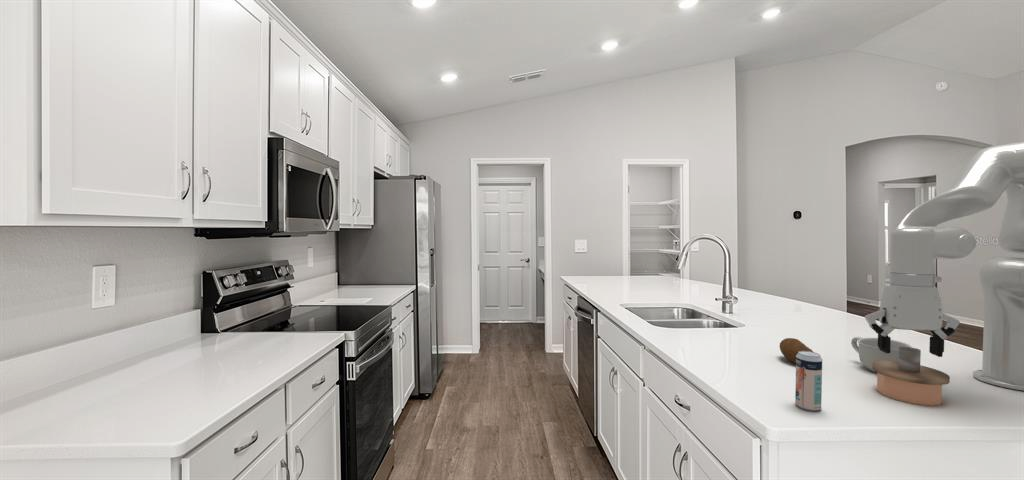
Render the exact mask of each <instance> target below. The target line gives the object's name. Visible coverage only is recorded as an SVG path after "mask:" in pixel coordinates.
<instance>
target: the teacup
mask: <svg viewBox="0 0 1024 480" xmlns="http://www.w3.org/2000/svg"><path fill="white" fill-rule="evenodd" d="M850 343H851V347H852V348H853V349H854V350H855V352H856V353H858V357H859V361H860V363H861V364H862V365H863V366H865V367H866V368H867V369H868V370H869V371H871V372H874V373H876V374H877V372H876V371H874V370H873V369H872V363H873V362H876V361H897V362H899V347H912V346H911V345H910V344H908V343H905V342H903V341H900V340H895V339H891V346H890V353H885V352H883V351H881V350H880V349H879V347H878V337H862V336H854V337H852V339H851V342H850Z"/></svg>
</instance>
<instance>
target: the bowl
mask: <svg viewBox="0 0 1024 480" xmlns="http://www.w3.org/2000/svg"><path fill="white" fill-rule="evenodd" d="M876 375H877V376H876V377H877V378H876V381H877V382H876V391H877V392H879V393H880V394H882V395H883V396H886V397H889V398H892V399H894V400H897V401H900V402H905V403H910V404H914V405H923V406H931V407H932V406H939V405H940V406H941V405H942V401H943V400H942V399H943V385H928V384H919V383H913V382H907V381H902V380H898V379H894V378H891V377H887V376H885V375H882V374H879V373H876Z"/></svg>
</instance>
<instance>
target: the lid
mask: <svg viewBox="0 0 1024 480" xmlns="http://www.w3.org/2000/svg"><path fill="white" fill-rule="evenodd" d="M921 356H922V355H921V349H919V348H915V347H913V346H911V347H899V362H897V361H876V362H873V363H872V369H873V370H874V371H876V372H877V373H879V374H882V375H885V376H887V377H891V378H894V379H898V380H902V381H907V382H913V383H919V384H928V385H942V386H944V385H949V383H950V382H951V377H950V375H949V374H947V373H946V372H943V371H941V370H938V369H936V368H932V367H929V366H925V365H921ZM876 372H875V373H876ZM877 373H876V374H877Z"/></svg>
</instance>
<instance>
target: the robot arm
mask: <svg viewBox="0 0 1024 480" xmlns="http://www.w3.org/2000/svg"><path fill="white" fill-rule="evenodd" d="M1004 192H1005V193H1006V196H1007V197H1006V198H1007V202H1006V206H1005V211H1004V215H1003V219H1002V221H1001V222H1002V223H1001V226H1000V230H999V235H998V243H999V244H998V245H999V246H1000V248H1001V249H1002V250H1003V251H1007V252H1009V253H1014V254H1021V255H1022V254H1024V141H1020V142H1014V143H1013V142H1012V143H1007V144H1006V143H1004V144H998V145H994V146H993V145H992V146H988V147H986V148H982V149H981V150H979V151H977V152H976V153H974V155H973V156H972V157H971V159H970V160H969V161H968V163H967V164H966V165H965V167H964V168H963V169H962V170H961V172H960V174H959V175H958V176H957V178H955V180H954V181H953V183H952V184H951V186H950V187H949V188H948V189H947V190H946V191H944V192H942V193H939V194H937V195H935V196H934V197H931V198H930V199H928V200H926V201H925V202H923V203H921V204H919V205H917V206H916V207H914V208H913V209H912V210H910V211H909V212H908V213H906V215H905V216H904V217H903V219H901V221H900V222H899V223H898V224H897V226H896V228H895V229H893V230H892V231H891V233H890V248H889V249H890V253H889V254H890V255H889V256H890V257H889V284H885V285H884V287H883V290H882V293H881V294H882V295H881V299H880V305H879V310H877V311H873V312H871V313H869V314H866V315H864V320H865V321H866V322H867V324H868V326H869V328H871V329H872V330H873V331H874V332H875V333H876V334H877V338H878V347H879V349H880V350H881V351H883V352H885V353H890V346H891V340H892V339H891V337H890V336H889V335H890V334H891V333H892V332H894V330H903V331H904V330H905V331H906V330H907V331H926V332H929V333H930V334H931V335H930V336H929V349H928V350H929V353H930V354H932V355H933V356H935V357H938V358H942V357H943V353H944V352H945V341H946V340H947V339H948V338H949V336H951V335H952V334H953V333H955V330H956V329H957V327H958V326H959V324H960V320H959V319H957V318H955V317H952V316H950V315H948V314H945V313H943V304H942V299H941V294H940V291H939V289H938V287H936V283H941V282H942V277H941V276H937V275H936V259H938V260H939V259H942V260H957V259H962V258H965V257H967V256H969V255H971V254H972V252H974V250H975V249H976V246H977V240H976V238H975V235H974V234H973V233H972V232H971V231H969V230H968V229H966V228H962V227H958V226H938V225H941V224H943V223H946V222H949V221H952V220H955V219H960V218H963V217H968V216H971V215H975V214H979V213H981V212H982V213H983V212H985V211H987V210H989V209H991V208H992V207H994V206H995V205H996V203H997V202H998V200H999V199H1000V198H1001V197H1002V195H1003V193H1004ZM978 272H979V273H978V276H979V282H980V285H981V290H982V295H983V334H982V335H983V336H982V338H983V339H982V360H981V361H982V363H981V364H982V366H981V369H976V370H973V371H972V377H973V378H975V379H976V380H978V381H981V382H984V383H986V384H990V385H992V386H997V387H1001V388H1004V389H1005V388H1006V389H1010V390H1011V389H1012V390H1017V391H1023V392H1024V257H996V258H992V259H990V260H986V261H985V262H984V263H983V264H981V267H980V269H979V271H978ZM876 320H879V323H880V325H878V324H877V321H876ZM943 321H944V322H945V323H946V324H945V326H943Z"/></svg>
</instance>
